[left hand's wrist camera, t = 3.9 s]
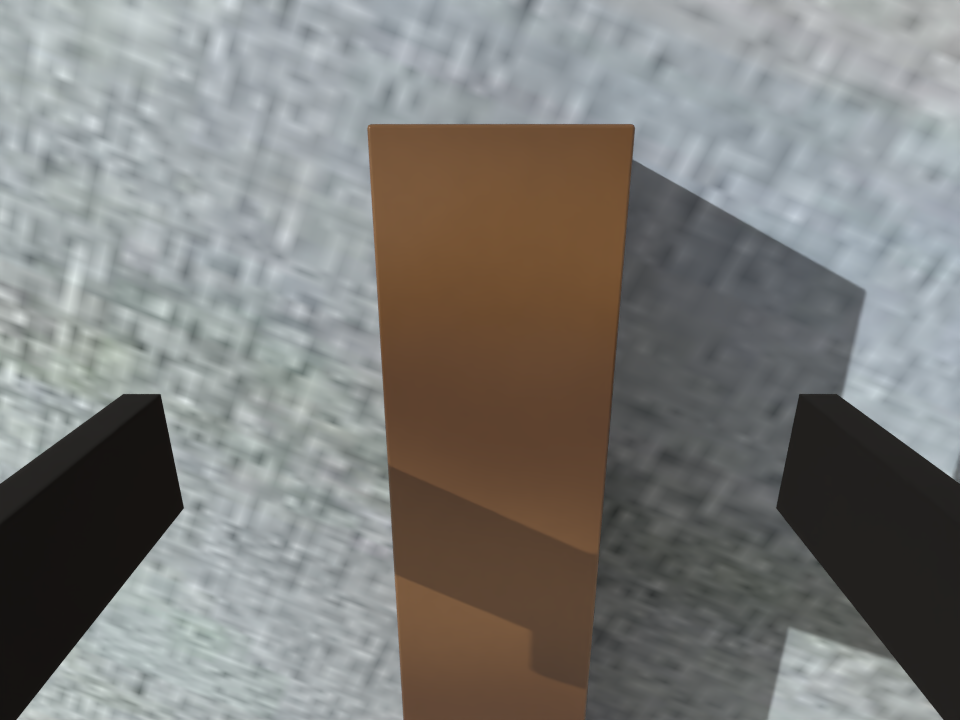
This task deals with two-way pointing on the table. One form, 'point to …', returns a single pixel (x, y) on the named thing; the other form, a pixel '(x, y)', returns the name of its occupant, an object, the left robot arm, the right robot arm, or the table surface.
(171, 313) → the table surface
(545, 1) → the table surface
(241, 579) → the table surface
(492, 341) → the post
